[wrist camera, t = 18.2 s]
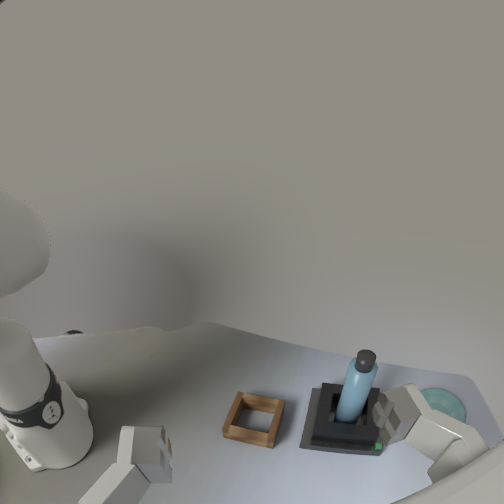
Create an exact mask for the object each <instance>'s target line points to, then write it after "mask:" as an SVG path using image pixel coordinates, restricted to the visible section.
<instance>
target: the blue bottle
mask: <svg viewBox="0 0 504 504" xmlns="http://www.w3.org/2000/svg"><path fill="white" fill-rule="evenodd" d="M375 360H376V355H375V353H373V352H372V351H370V350H361V351H359V352H358V354H357V357H356V358H354V359H353V360H352V361H351V362H350V364H349V368H348V372H347V376H346V379H345V383H344V386H343V390H342V393H341V396H340V400H339V403H338V406H337V409H336V413H335V416H334V422H336V423H345V424H356V423H357V421H358V419H359V416H360V414H361V412H362V409H363V407H364V404H365V402H366V399H367V397H368V394H369V392H370V389H371V386H372V384H373V381H374V378H375V375H376V373H377V369H378V366H377V364H376V362H375Z"/></svg>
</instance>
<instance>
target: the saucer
mask: <svg viewBox="0 0 504 504" xmlns="http://www.w3.org/2000/svg"><path fill="white" fill-rule="evenodd" d="M420 392H421V394H422V395H423V397H424V398H425V400H426V401H427V403H428V404H429V406H430V407H431V409H432V410H434V409H436V410H438V411H440V412H442V413H444V414H446V415H448V416H450V417H452V418H454V419H456V420H458V421H460V422H463V423H465V418H466V415H465V410H464V407H463V405H462V403H461V402H460V400H459V399H458V398H457V397H456V396H455V395H453V394H452V393H450V392H448V391H446V390H443V389H437V388H430V389H425V390H422V391H420Z"/></svg>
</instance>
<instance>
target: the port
mask: <svg viewBox="0 0 504 504" xmlns="http://www.w3.org/2000/svg"><path fill="white" fill-rule="evenodd" d="M343 386H344V385H338V384H330V383H322V387H321V389H316V388H312V393H311V398H310V403H309V407H308V412H307V417H306V421H305V426H304V430H303V434H302V439H301V443H300V447H299V448H304V449H311V450H318V451H326V452H335V453H346V454H358V455H376V456H380V454H381V453H382V445H383V438H382V436H381V434H380V433H381V428H380V427H378V426H376V424H375V422H374V420H373V416H372V410H373V407H374V405H375V404H376V403H377V402H378V399H377V398H378V395H379V394H380V388H371V389H370V392H369V394H368V397H367V399H366V402H365V404H364V407H363V409H362V412H361V414H360V416H359V419H358V421H357V423H356V424H345V423H336V422H334V416H335V413H336V409H337V406H338V403H339V400H340V396H341V393H342V390H343Z"/></svg>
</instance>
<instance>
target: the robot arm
mask: <svg viewBox="0 0 504 504" xmlns="http://www.w3.org/2000/svg"><path fill="white" fill-rule="evenodd" d="M4 1H5V0H0V4H1V3H2V2H4ZM50 246H51V245H50V236H49V232H48V229H47V225H46V223H45V221H44V219H43V218H42V216H41V215H40V213H39V212H38V211H37V210H36V209H35V208H34V207H33V206H32V205H30V204H29V203H27V202H26V201H23V200H20V199H17V198H15V197H13V196H11V195H10V194H8V193H6V192H5V191H4V190H2V189H1V188H0V299H2V298H4V297H7V296H9V295H11V294H13V293H15V292H18V291H19V290H21V289H22V288H23V287H25V286H26V285H28V284H29V283H31V282H32V281H33V280H35V279H36V278H37V277H39V276H40V275H42V274H43V273H44V272H45V270H46V268H47V265H48V262H49V258H50ZM377 399H378V402H377V403H376V404H375V405H374V407H373V410H372V416H373V420H374V422H375V424H376V426H378V427H380V428H381V433H380V434H381V436H382V438H383V440H384V442H385V444H386V446H387V445H390V444H393V443H396V442H399V441H402V440H404V441H405V442H406V443H408V444H409V445H411V446H412V447H413V448H415V449H416V450H418V451H419V452H421V453H422V454H424V455H425V456H427V457H428V458H430V459H431V460H433V461H434V462H435V463H434V464H433V465H432V466H431V467H430V468H429V469H428V472H427V473H428V475H429V477H430V479H431V480H432V482H433V484H432V485H430V486H428V487H426V488H424V489H422V490H420V491H418V492H416V493H414V494H412V495H410V496H407V497H405V498H403V499H401V500H398V501H396V502H394V503H391V504H504V440H502V441H501V442H500V443H498V444H497V445H495V446H494V447H493V448H491V449H489V448H488V446H487V445H486V443H485V442H484V440H483V439H482V437H481V436H480V434H479V433H478V431H477V430H476V429H475V428H473V427H471V426H469V425H467V424H465V423H463V422H460V421H458V420H456V419H454V418H452V417H450V416H448V415H446V414H444V413H442V412H440V411H438V410H436V409H434V410H432V409H431V407H430V406H429V404H428V403H427V401H426V400H425V398H424V397H423V395H422V394H421V392H420V391H419V389H418V388H417V386H416V385H415V384H413V383H409V384H406V385H404V386H400V387H397V388H394V389H391V390H388V391H385V392H382V393H380V394H379V395H378V398H377ZM0 429H1V430H2V432H3V433H4V434H5V435H6V437H7V438H8V440H9V441H10V443H11V444H12V446H13V447H14V448H15V450H16V451H17V453H18V454H19V455H20V457H21V458H22V459H23V461H24V462H25V463H26V465H27V466H28V467H29V468H30V469H31V470H32V471H34V472H37V471H41V470H44V469H46V468H54V469H60V468H66V467H69V466H72V465H74V464H75V463H77V462H78V461H80V460H81V459H82V458H83V457H84V456H85V455H86V454H87V452H88V450H89V449H90V447H91V444H92V440H93V427H92V424H91V421H90V419H89V417H88V403H87V402H86V401H85V400H84V399H81V398H78V397H76V396H75V395H74V393H73V392H72V391H71V389H70V388H69V386H68V385H67V384H66V382H64V381H63V382H62V381H60V380H57V377H56V375H55V374H54V372H53V371H52V370H51V368H50V367H49V366H48V365H47V364H46V363H45V362H44V360H43V359H42V357H41V355H40V353H39V351H38V349H37V347H36V345H35V343H34V341H33V339H32V337H31V335H30V333H29V332H28V331H27V329H26V328H25V327H24V326H22V325H21V324H19V323H18V322H16V321H14V320H12V319H10V318H4V317H0ZM171 459H172V450H171V444H170V440H169V438H168V437H167V436H165V429H164V427H163V426H160V427H143V426H123V427H122V429H121V433H120V440H119V449H118V457H117V463H113V464H112V465H111V466H110V467H109V468H108V470H107V471H106V472H105V473H104V474H103V475H102V476H101V477H100V478H99V480H98V481H97V482H96V483H95V484H94V485H93V486H92V487H91V488H90V489H89V491H88V492H87V493H86V494H85V495H84V496H83V497H82V498H81V499H80V500H79V504H138V503H139V502H140V500H141V499H142V497H143V496H144V494H145V493H146V491H147V490H148V488H149V487H150V484H172V468H171V466H170V464H169V462H170V461H171ZM30 460H31V461H30Z"/></svg>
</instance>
